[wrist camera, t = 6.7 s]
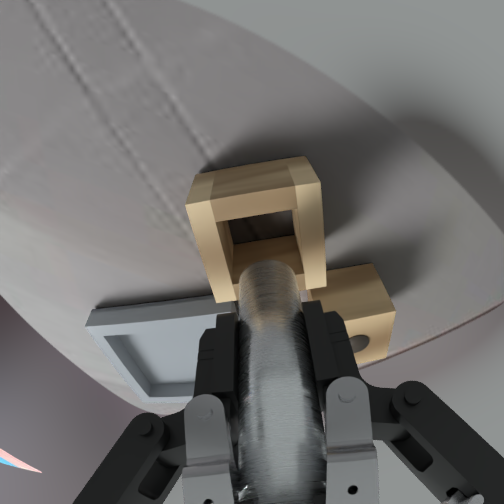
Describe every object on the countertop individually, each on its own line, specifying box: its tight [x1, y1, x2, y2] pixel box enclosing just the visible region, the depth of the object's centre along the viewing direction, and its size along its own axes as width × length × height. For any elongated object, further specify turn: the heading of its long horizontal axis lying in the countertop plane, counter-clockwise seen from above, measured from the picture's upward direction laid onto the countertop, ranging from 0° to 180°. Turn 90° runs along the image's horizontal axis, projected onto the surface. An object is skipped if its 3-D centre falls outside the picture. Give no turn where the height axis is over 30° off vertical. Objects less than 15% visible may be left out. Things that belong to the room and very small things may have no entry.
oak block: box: [185, 156, 327, 303], centre depth 18 cm, size 6×6×4 cm
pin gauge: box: [238, 260, 326, 504], centre depth 11 cm, size 3×3×10 cm
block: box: [307, 263, 396, 364], centre depth 22 cm, size 5×5×5 cm
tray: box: [85, 295, 239, 403], centre depth 26 cm, size 12×12×2 cm
